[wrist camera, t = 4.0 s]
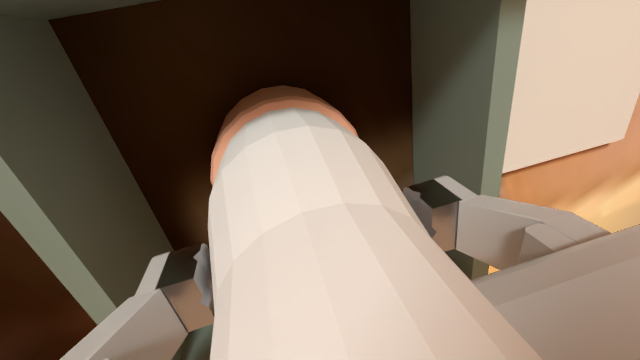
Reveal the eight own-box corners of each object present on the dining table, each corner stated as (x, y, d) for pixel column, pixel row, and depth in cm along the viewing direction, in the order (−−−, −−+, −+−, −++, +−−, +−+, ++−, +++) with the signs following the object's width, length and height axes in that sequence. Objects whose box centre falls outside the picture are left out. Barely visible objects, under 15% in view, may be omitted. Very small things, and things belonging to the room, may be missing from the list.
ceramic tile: (466, 175, 20) (476, 181, 19) (481, -32, 14) (496, -37, 14) (608, 134, 22) (623, 138, 21) (671, -67, 16) (696, -73, 15)
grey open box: (186, 304, 19) (143, 484, 11) (3, -5, 11) (-611, -124, 3) (427, 231, 22) (531, 340, 14) (428, -74, 13) (697, -246, 5)
